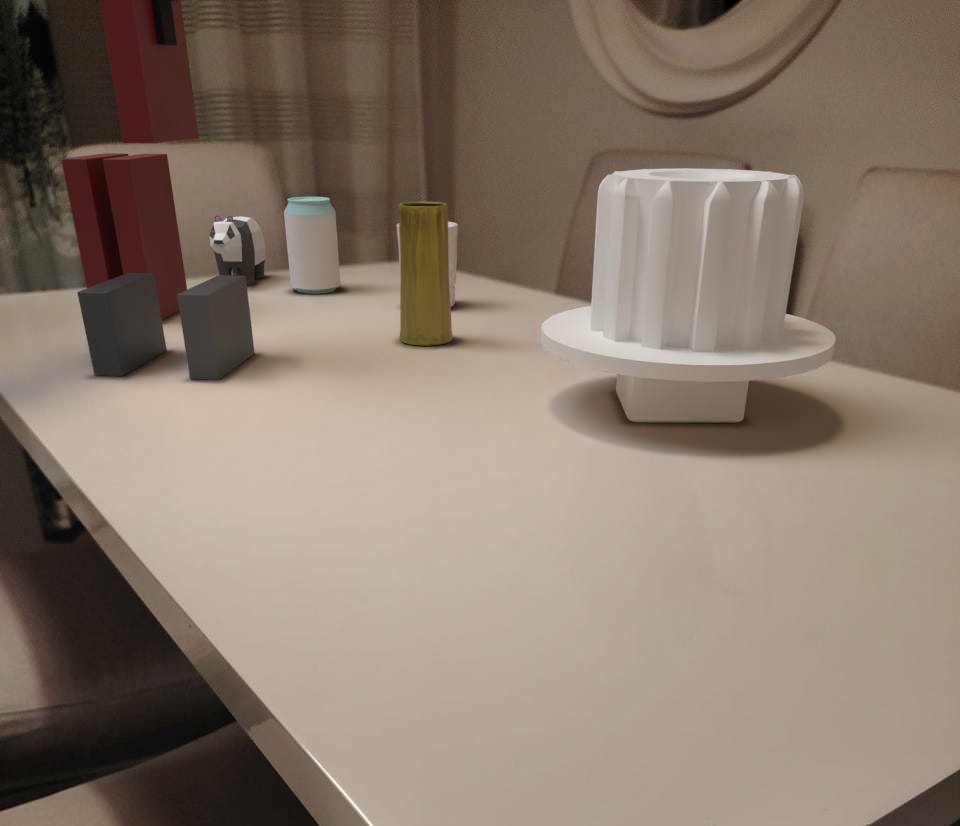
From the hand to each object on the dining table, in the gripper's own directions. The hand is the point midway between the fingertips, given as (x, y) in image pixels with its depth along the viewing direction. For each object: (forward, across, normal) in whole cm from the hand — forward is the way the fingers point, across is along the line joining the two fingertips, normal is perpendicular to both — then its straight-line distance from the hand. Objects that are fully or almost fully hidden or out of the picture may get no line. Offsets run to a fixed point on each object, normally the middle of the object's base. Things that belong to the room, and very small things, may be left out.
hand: (148, 44), depth 88 cm
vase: (+29, -24, -9) cm, 39 cm away
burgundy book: (+8, 0, 0) cm, 8 cm away
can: (+29, -3, -38) cm, 47 cm away
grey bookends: (+28, 0, +6) cm, 29 cm away
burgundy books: (+29, +14, -18) cm, 37 cm away
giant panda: (+29, +10, -42) cm, 52 cm away
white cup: (+29, -21, -29) cm, 46 cm away
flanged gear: (+29, -52, +14) cm, 61 cm away
